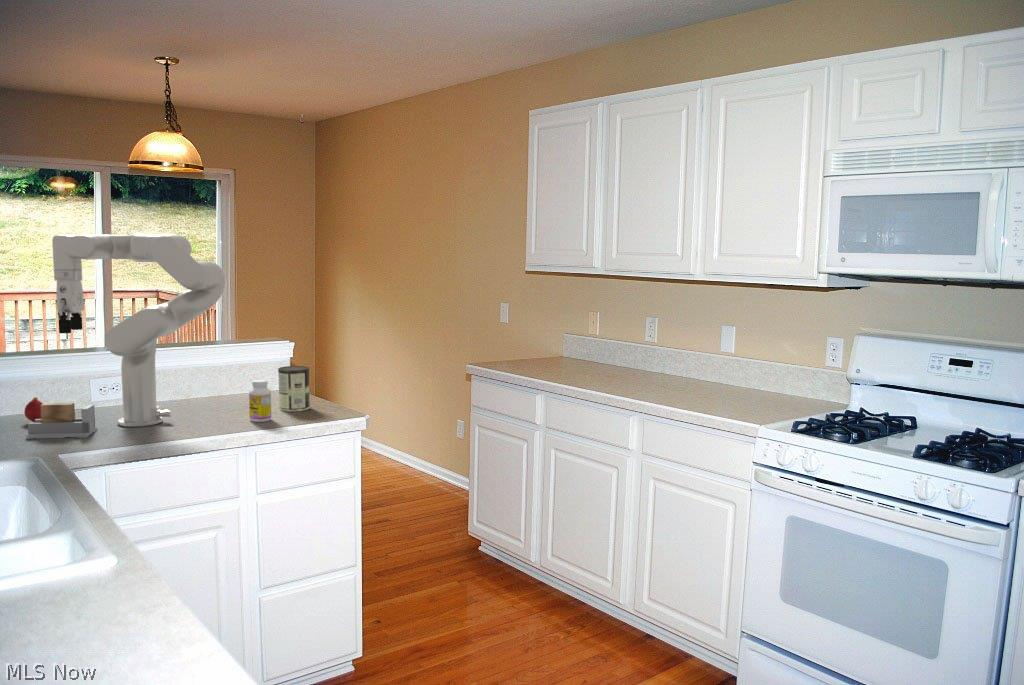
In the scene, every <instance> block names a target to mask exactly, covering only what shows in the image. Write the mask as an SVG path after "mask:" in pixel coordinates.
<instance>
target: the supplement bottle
mask: <svg viewBox="0 0 1024 685" xmlns="http://www.w3.org/2000/svg"><path fill="white" fill-rule="evenodd" d="M251 383H252V384H251V385H252V388H251V389H250V390H249V394H248V396H249V397H248V400H249V405H248V406H249V420H250V421H251V422H254V423H264V422H269V421H271V419H272V390H271V389H270V388H269V387H268V384H269V383H268V380H267V379H255V380H252V381H251Z"/></svg>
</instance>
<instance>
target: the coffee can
mask: <svg viewBox="0 0 1024 685" xmlns="http://www.w3.org/2000/svg"><path fill="white" fill-rule="evenodd" d="M277 372H278V404H279V405H278V406H279V408H278V410H279V411H280V412H281V411H282V412H292V413H293V412H294V413H295V412H304V411H307V410H309V409H310V408H311V406H310V404H311V403H310V367H309V366H306V365H288V366H287V365H286V366H282V367H279V368H277Z"/></svg>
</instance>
